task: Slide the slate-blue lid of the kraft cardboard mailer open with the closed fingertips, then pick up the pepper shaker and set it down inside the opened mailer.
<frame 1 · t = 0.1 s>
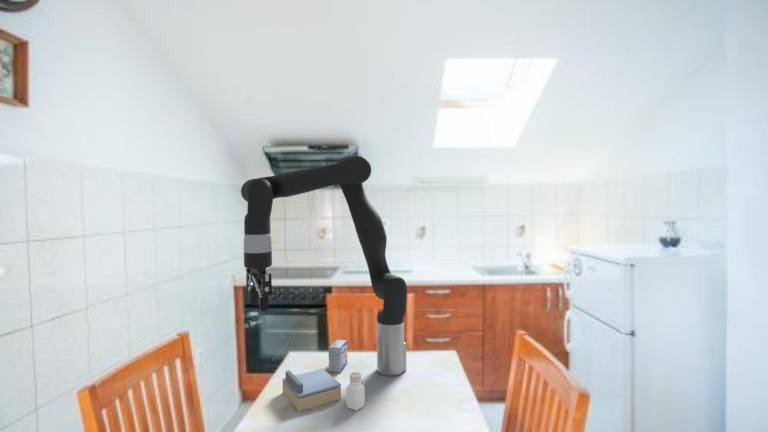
hand: (258, 307, 116), 29 cm above the table, fingers open, 8 cm apart
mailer: (311, 395, 124), on the table
lid: (311, 378, 124), point 5 cm above the table, slide at 0.0 cm
pepper shaker: (355, 407, 118), on the table
medicine box: (338, 368, 145), on the table
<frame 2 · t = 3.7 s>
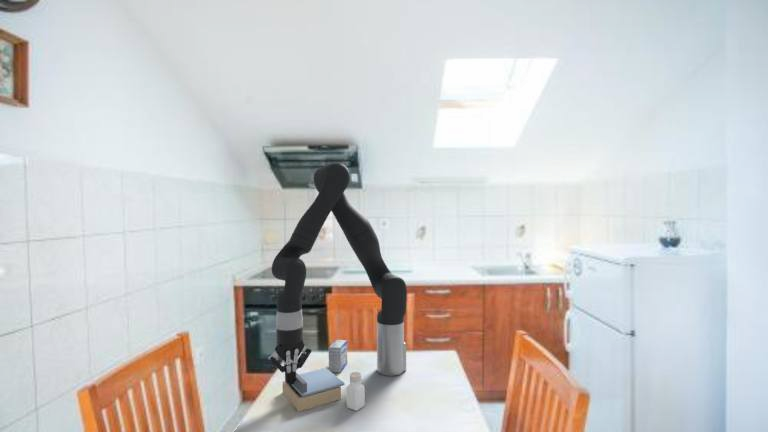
hand: (290, 383, 120), 5 cm above the table, fingers closed
lid: (314, 377, 124), point 5 cm above the table, slide at 1.2 cm, touching gripper
everything else where it was.
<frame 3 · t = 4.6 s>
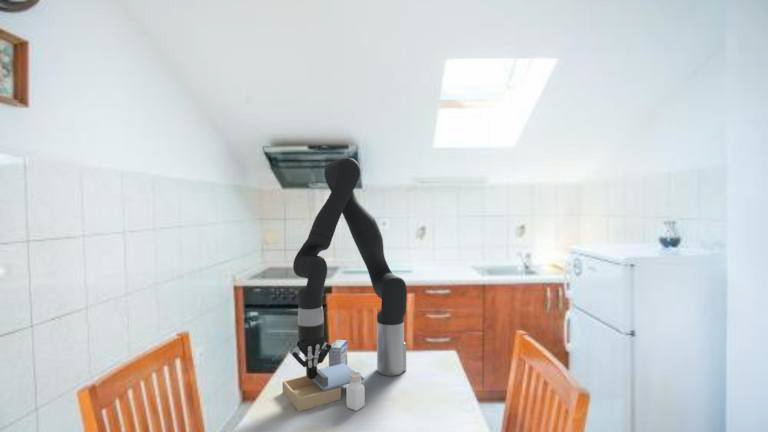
hand: (311, 378, 124), 5 cm above the table, fingers closed
lid: (334, 372, 128), point 5 cm above the table, slide at 7.8 cm, touching gripper
everything else where it was.
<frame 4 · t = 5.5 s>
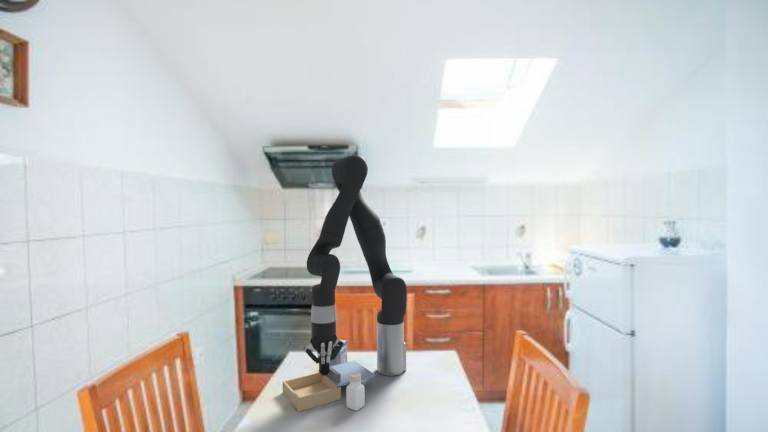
hand: (324, 374, 126), 6 cm above the table, fingers closed
lid: (346, 369, 130), point 5 cm above the table, slide at 11.9 cm, touching gripper
everything else where it was.
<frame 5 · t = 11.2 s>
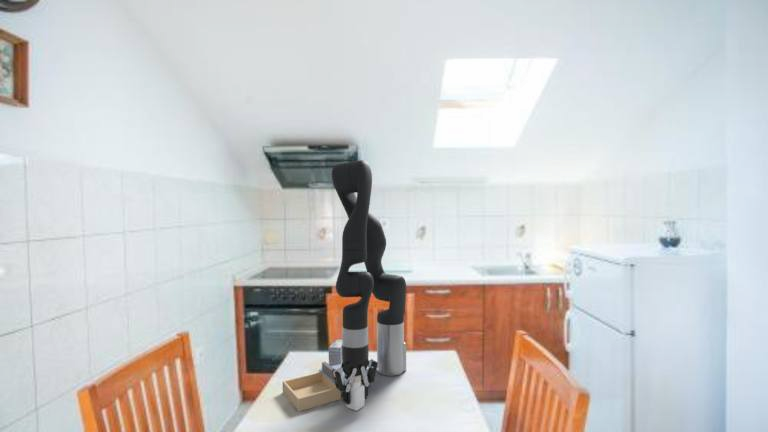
hand: (355, 400, 117), 2 cm above the table, fingers closed on pepper shaker, 4 cm apart
lid: (346, 368, 130), point 5 cm above the table, slide at 12.0 cm
pepper shaker: (355, 407, 118), on the table, touching gripper
everything else where it was.
when the fingers open (4 cm above the table, at t = 16.4 s): pepper shaker drops 2 cm, resting on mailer.
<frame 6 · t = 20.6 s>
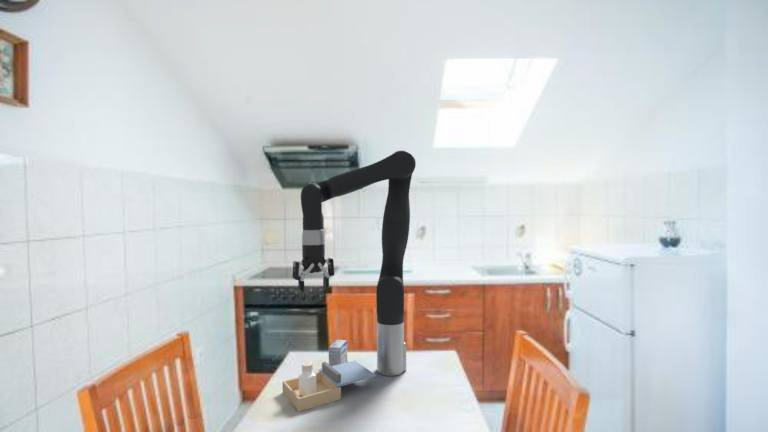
hand: (313, 290, 141), 28 cm above the table, fingers open, 8 cm apart
pepper shaker: (307, 395, 123), resting on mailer
everything else where it was.
at the end: lid slide at 12.0 cm; pepper shaker inside the target area on the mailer (1.2 cm from its centre), point 0.4 cm above the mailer's base; the gripper is holding nothing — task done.
